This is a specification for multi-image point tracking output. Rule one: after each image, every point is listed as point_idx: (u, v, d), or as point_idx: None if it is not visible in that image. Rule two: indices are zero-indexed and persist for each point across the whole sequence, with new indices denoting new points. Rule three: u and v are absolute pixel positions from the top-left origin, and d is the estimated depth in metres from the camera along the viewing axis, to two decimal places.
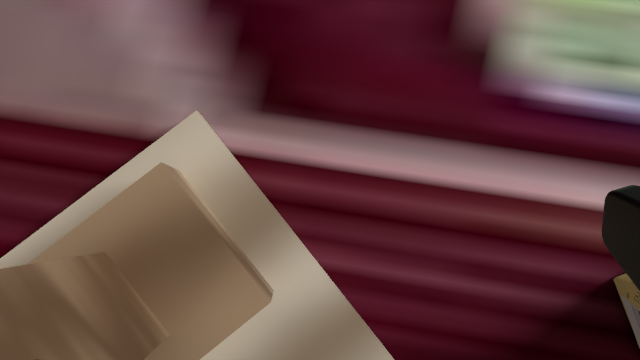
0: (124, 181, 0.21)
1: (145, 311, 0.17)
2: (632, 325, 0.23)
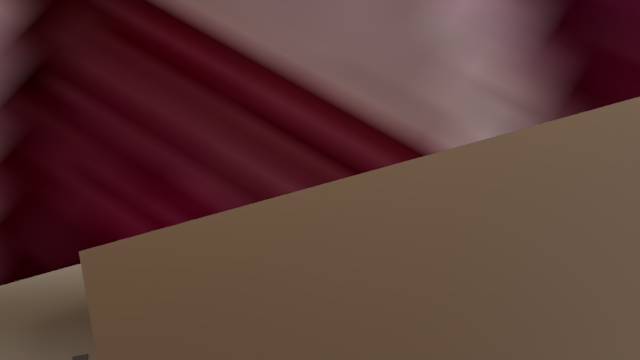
0: None
1: None
2: None
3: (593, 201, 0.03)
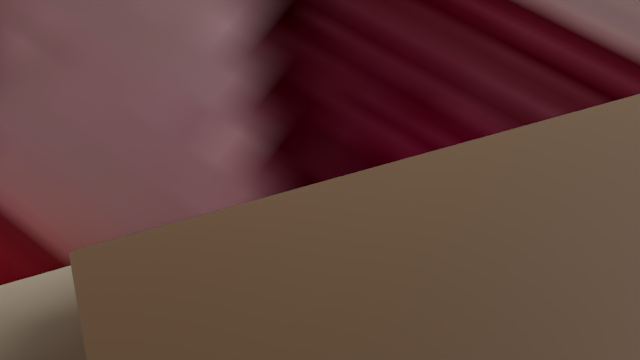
0: None
1: None
2: None
3: (606, 199, 0.03)
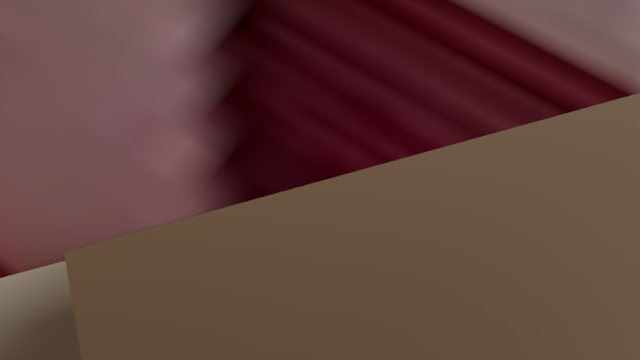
0: None
1: None
2: None
3: (608, 198, 0.03)
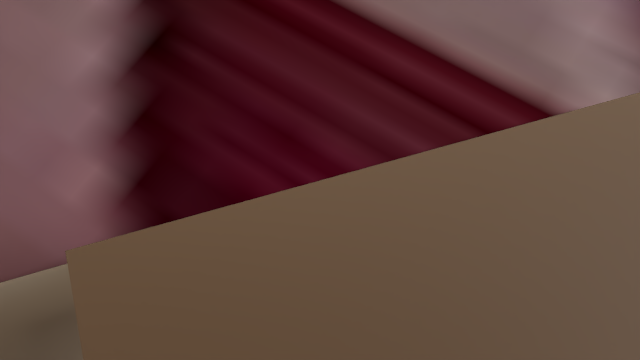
0: None
1: None
2: None
3: (610, 197, 0.03)
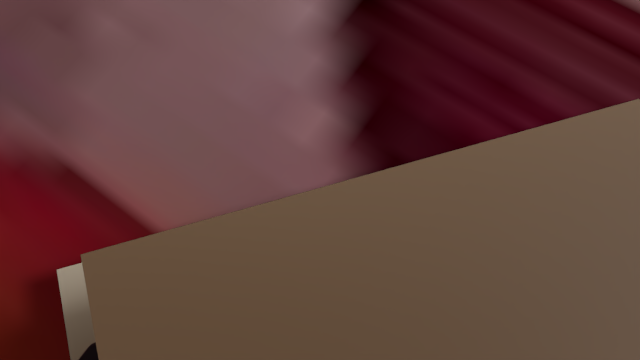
0: None
1: None
2: None
3: (587, 204, 0.03)
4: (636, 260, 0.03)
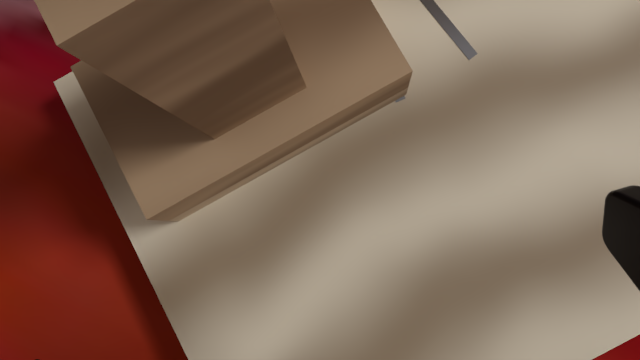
0: None
1: None
2: None
3: None
4: None
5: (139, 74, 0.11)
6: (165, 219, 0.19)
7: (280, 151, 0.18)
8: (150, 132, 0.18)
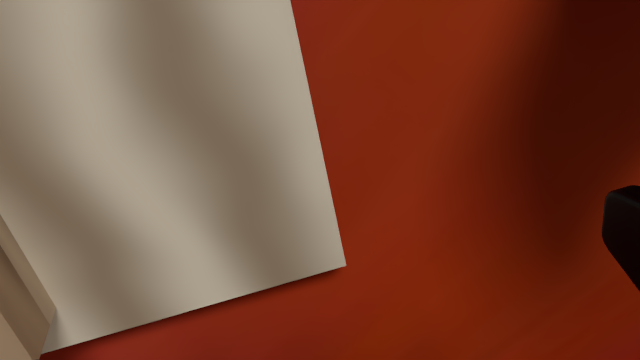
0: None
1: None
2: None
3: None
4: None
5: None
6: (45, 334, 0.19)
7: None
8: None
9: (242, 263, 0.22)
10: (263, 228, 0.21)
